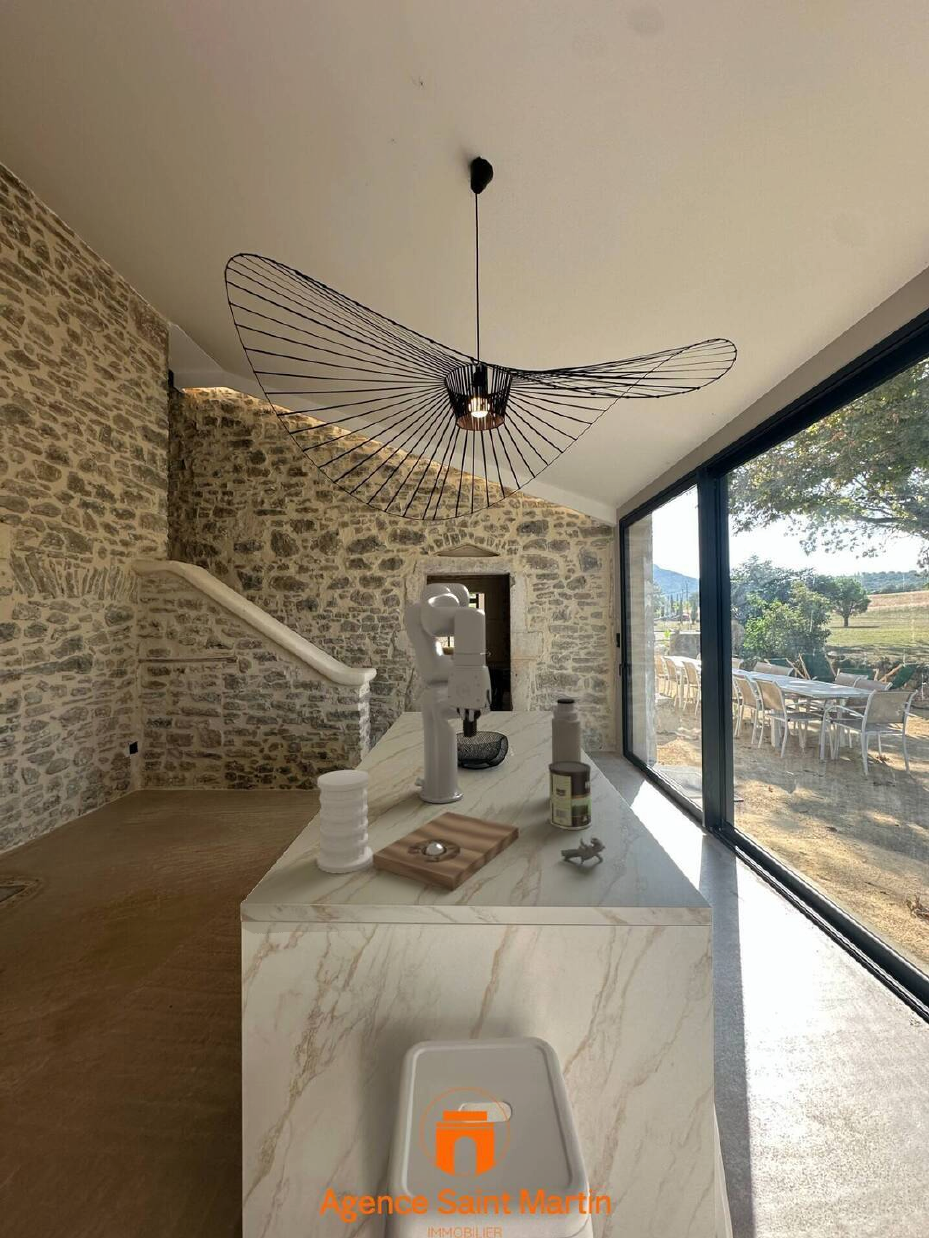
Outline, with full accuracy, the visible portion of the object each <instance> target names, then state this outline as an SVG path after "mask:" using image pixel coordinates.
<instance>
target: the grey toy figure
mask: <svg viewBox="0 0 929 1238" xmlns="http://www.w3.org/2000/svg"><path fill="white" fill-rule="evenodd" d="M593 836H594V835H593V834H591V836H590V838H589V840H590V843H591V844H588V843H585V842H584V840H583V838H582V837H580V839H579V843H580V845H578V847H577V848H569V849H568V848H567V849H560V854H561V857H564V859H565V860H570V859H573V858H574V859H575V858H580V863H579V865H578V868H580V867H581V865H582V864H583V863H584V862H587V861H588V860H591V859H593V858H594V857H596V858H597V859H598V860H599V861H601V862H603V861H604V858H603V857H602V856H601V853H602V852H603V851H604V850H605V849H606V846H605V845H603V841H602V840H601V839H599V838H598V837H596V836H595V837H593Z"/></svg>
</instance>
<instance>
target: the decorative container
mask: <svg viewBox="0 0 929 1238" xmlns="http://www.w3.org/2000/svg"><path fill="white" fill-rule="evenodd" d="M316 781H317V784H316V785H317V788H319V789H320V793H319V798H318V799H319V803H320V806H321V808H320V810H319V816H320V820H321V823H320V826H319V830H320V834H321V839H320V843H319V845H320V848H321V852H319V853H318V854H317V857H316V865H318V866H317V868H318V869H319V868H320V869H321V870H320V869H319V870H320V871H322V870H323V871H322V872H324V871H328V872H333V873H332V874H335V873H339V872H340V873H341V874H347V873H346V872H350V873H353V872H352V871H354V872H357V871H360V870H362V869H364V868H366V867H367V866H369V865H370V864H371V863H372V862H373V850H372V849H371V848H370V846H368V844H369V833H368V827H369V820H368V818H367V815H368V813H369V806H368V803H367V800H368V797H369V796H368V795H369V793H368V790H367V786H368V784H369V783H370V774H369V773H368V772H367V771H363V770H358V769H343V770H335V771H330V772H327V773H323V774H322V775H319V776H318V778H317V779H316ZM328 872H327V873H328ZM334 872H335V873H334ZM344 872H345V873H344Z"/></svg>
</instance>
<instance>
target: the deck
mask: <svg viewBox="0 0 929 1238" xmlns="http://www.w3.org/2000/svg"><path fill="white" fill-rule="evenodd" d="M517 839H519V827H518V826H514V825H512V824H511V825H510V824H506V823H505V824H504V823H501V822H497V821H491V820H487V819H482V818H478V817H473V816H469V815H464V814H459V813H455V812H450V811H446V812H444V813H443V814H441V815H439V816H438V817H435V818H434V819H432V820H430V821H428V822H427V823H425V824H423V825H421V826H419V827H418V828H416V829H414V830H412V831H411V832H409V833H408V834H406V835H404V836H402V837H400V838H398V839H397V840H395V841H394V842H392V843H390V844H389V845H387V846H385V847H384V848H381V849H379V850H378V851H376V852H375V853H372V867H374V868H377V869H380V870H384V871H387V872H390V873H394V874H397V875H399V876H402V877H403V876H404V877H406V878H409V879H412V880H416V881H419V882H423V883H426V884H430V885H431V886H436V887H439V888H441V889H445V890H448V891H451V892H453V891H455V890H456V889H457V888H459V887H460V886H462V884H463V883H465V882H467V880H469V879H470V878H471V877H472V876H473V875H475V874H476V873H478V871H480V869H481V870H482V868H483V867H484V866H486V865H487V864H489V863H490V862H491V861H492V860H493V859H494V858H496V856H498V855H499V854H501V853H502V852H503V851H504V850H506V848H508V847H509V846H511V844H513V843H514V842H516V841H517ZM431 843H439V844H440V845H442V847H443V849H444V854H443V855H440V856H426V855H425V852H426V848H427V847H428V845H430V844H431Z"/></svg>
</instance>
